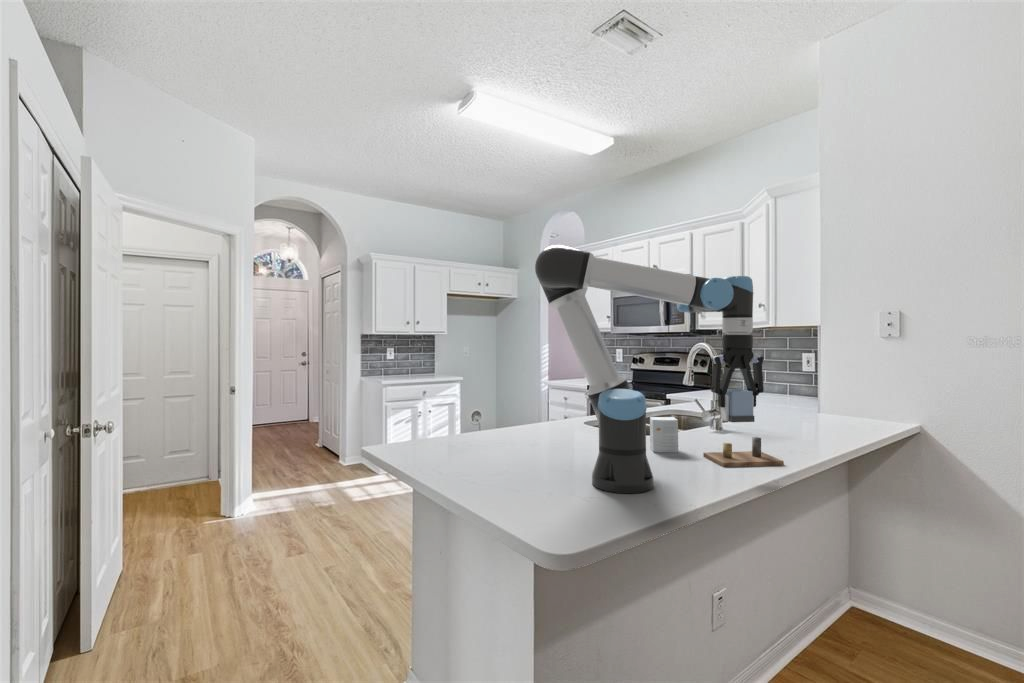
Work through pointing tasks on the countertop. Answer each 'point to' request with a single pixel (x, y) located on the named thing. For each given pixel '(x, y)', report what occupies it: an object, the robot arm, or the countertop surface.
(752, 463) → the pin board
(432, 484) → the countertop surface
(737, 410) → the sleeve
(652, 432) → the small box
